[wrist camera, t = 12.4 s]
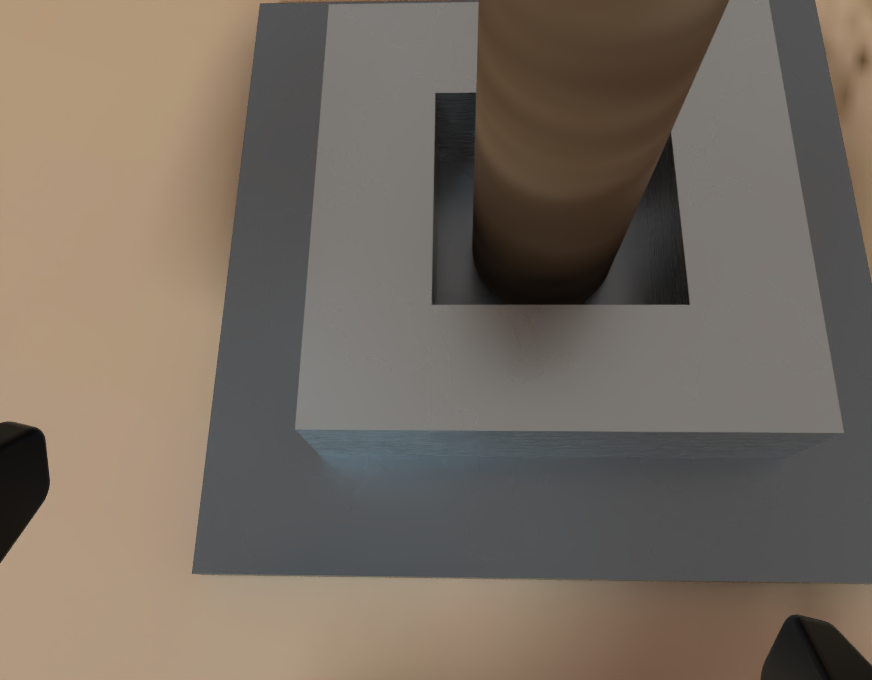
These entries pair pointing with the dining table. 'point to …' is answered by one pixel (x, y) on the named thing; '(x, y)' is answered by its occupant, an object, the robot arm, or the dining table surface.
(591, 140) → the peg
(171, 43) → the dining table surface
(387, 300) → the socket
